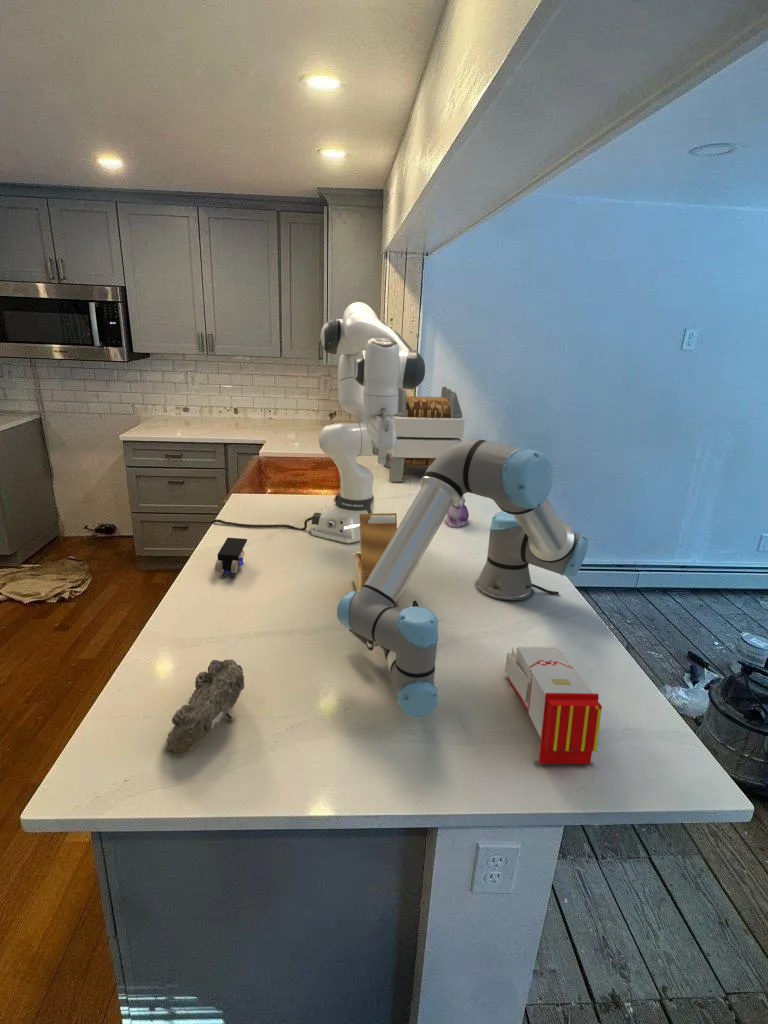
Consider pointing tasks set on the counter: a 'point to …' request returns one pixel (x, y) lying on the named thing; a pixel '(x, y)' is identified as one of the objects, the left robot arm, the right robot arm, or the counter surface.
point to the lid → (375, 537)
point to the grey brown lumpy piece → (206, 705)
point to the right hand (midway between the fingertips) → (386, 606)
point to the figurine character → (230, 556)
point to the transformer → (423, 430)
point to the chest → (359, 574)
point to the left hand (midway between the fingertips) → (378, 459)
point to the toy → (556, 704)
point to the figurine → (458, 514)
